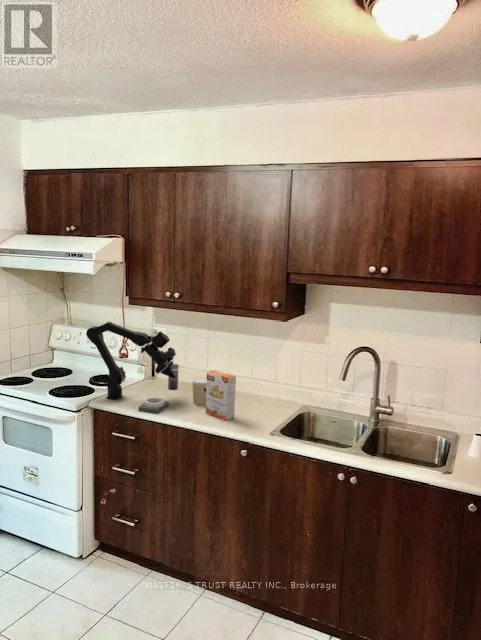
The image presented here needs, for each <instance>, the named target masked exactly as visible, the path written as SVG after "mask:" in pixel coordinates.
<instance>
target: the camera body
mask: <svg viewBox="0 0 481 640" xmlns="http://www.w3.org/2000/svg"><path fill="white" fill-rule="evenodd" d="M169 406H170V401H166V400H164V399H163V397H154V396H153V397H147V398H145V399H143V404H141V405H140V406H139V407H138V412H143V413H149V414H156V415H158V414H160V413H161V412H163V411H164V410H165V409H166V408H168V407H169Z"/></svg>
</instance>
